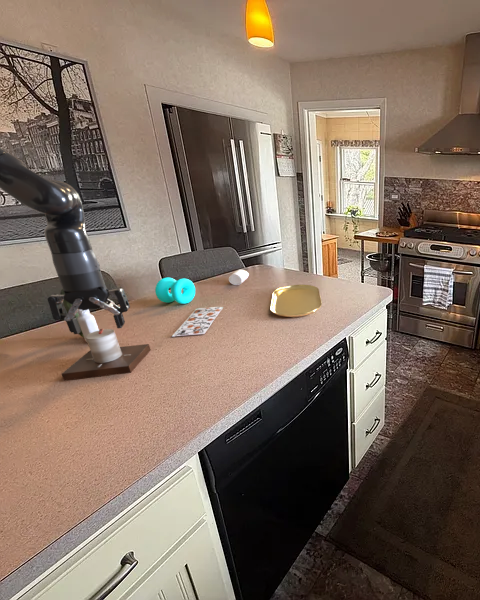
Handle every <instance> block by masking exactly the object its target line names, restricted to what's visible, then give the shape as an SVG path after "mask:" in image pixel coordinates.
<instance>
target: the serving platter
mask: <svg viewBox="0 0 480 600" xmlns="http://www.w3.org/2000/svg"><path fill="white" fill-rule="evenodd" d="M322 305H323V302H322V297H321V293H320V289H319V288H318V286H316V285H311V284H291V285H285V286H282V287H279V288H277V289H275V290H274V291H273V292H272V295H271V302H270V308H269V311H271V312H272V313H273V315H275V316H277V317H283V318H299V317H304V316H309V315H311V314H314V313H316V312H317V311H319V310H320V309H321V307H322Z"/></svg>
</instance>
